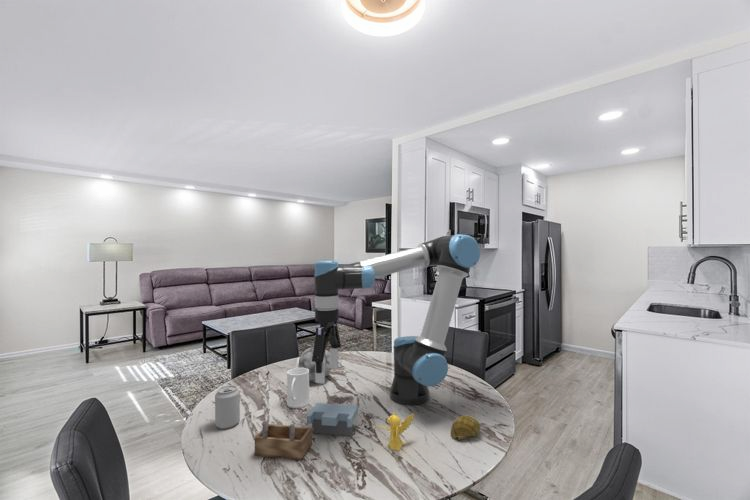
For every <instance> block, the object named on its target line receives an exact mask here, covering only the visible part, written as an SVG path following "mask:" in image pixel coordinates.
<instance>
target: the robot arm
mask: <svg viewBox="0 0 750 500" xmlns="http://www.w3.org/2000/svg"><path fill="white" fill-rule="evenodd" d="M480 258H481V248H480V245H479V244H478V242H477V240H476V239H475V238H474V237H473V236H470V235H468V234H461V233H458V234H453V235H444V236H439V237H436V238H434V239H431V240H428V241H426V242H425V241H424V242H421V243H419V244H418V245H417V246H416V247H412V248H408V249H403V250H401V251H396V252H392V253H388V254H383V255H380V256H376V257H371V258H369V259H364V260H360V261H357V262H351V263H348V264H347V263H345V264H341V265H339V262H338V261H337V260H317V261H316V262H315V264H314V274H313V275H314V298H313V301H314V307H315V311H314V320H315V322H316V323H319V324H320V325H319V327H316V328H315V338H314V343H313V347H314V350H313V356H312V362H315V382H314V383H315V384H325V383H326V380H325V379H326V377H325V361H323V359H324V355H325V350H327V345H328V342H329V345H330V348H329V353H330V368H331V369H338V368H339V349H341V348H342V345H341V338H340V333H339V327H338V321H339V319H340V316H339V315H340V312H339V311H340V310H339V309H338V308H339V306H340V304H339V303H340V302H339V290H356V289H357V290H358V289H361V290H362V289H363V290H364V289H370V288H372V287H374V285H375V281H376V279H378V278H380V277H385V276H388V275H392V274H395V273H399V272H403V271H407V270H411V269H414V268H415V269H416V268H419V267H424V268H428V267H432V266H436V268H437V270H438V274H437V279H436V282H435V286H434V289H433V292H432V297H431V299H430V303H429V306H428V309H427V312H426V317H425V319H424V320H425V321H424V322H423V323H424V324H423V326H422V330H421V333H420V335H417V336H416V335H410V336H407V335H406V336H400V337H399V336H398V337H396V338H394V340H393V373H394V374H393V375H394V376H393V379H392V382H391V385H390V389H389V397H390V399H391V400H392V401H393V402H395V403H398V404H400V405H407V406H408V405H409V406H410V405H411V406H412V405H420V404H421V405H422V404H423V403H426V402H427V401H428V400H429V399H430V391H429V387H434V386H437V385H438V384H440V383H442V382H443V381H444V380H445V378H446V376H447V375H448V372H449V364H448V362H447V359H446V354H447V351H448V349H447V347H446V345H445V343H446V338H447V335H448V331H449V328H450V324H451V322H452V317H453V314H454V309H455V307H456V303H457V300H458V297H459V293H460V290H461V286H462V282H463V279H464V278H466V277H468V276H469V274H470V269H471V268H473V267H474V266H475V265H477V264H478V262H479V260H480ZM318 357H319V358H318Z"/></svg>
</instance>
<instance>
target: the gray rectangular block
mask: <svg viewBox="0 0 750 500" xmlns="http://www.w3.org/2000/svg"><path fill="white" fill-rule="evenodd" d="M353 431H354V424H353V425H352V427H347V422H342V421H339V422H338V423H337V425H336V426H327V425H322V420H315V419H314V420H313V422H312V434H322V435H332V436H333V435H336V436H346V437H351V435H352V433H353Z"/></svg>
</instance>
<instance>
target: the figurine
mask: <svg viewBox="0 0 750 500" xmlns="http://www.w3.org/2000/svg"><path fill="white" fill-rule="evenodd" d="M414 415H415V413H410V415H408V416H407V417H406V418H405V419H403V420H402V421H401V418H400V417H399V416H398V415H397V413H396V412H394V413H393V414H392V415H390V416H389V417H388V418H387V421H386V423H388V424H389V426H390V428H389V427H385V426H380V425H376V424H374V426H376V427H378V428H381V429H384V430H387V431H389V432H390V433H389V441H388V447H389V449H390V450H393V451H400V450H401V449H402V447H403V446H404V442H403V440H402V438H401V436H400V434H401V435H402V434H403V433H404V432H405V431H408V428H410V426H411V425H412V422H414V418H415V416H414Z"/></svg>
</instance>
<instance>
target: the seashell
mask: <svg viewBox="0 0 750 500" xmlns="http://www.w3.org/2000/svg"><path fill="white" fill-rule="evenodd" d="M480 432H481V425H480V422H479V420H477V419H476V418H475V417H474V416H471V415H468V414H464V415H461V416H459V417H457V418H456V419H455V420H454V422H453V423H452V425H451V427H450V438H451V440H454V439H457V438H458V440H459V441H461V440H465V439H467V438H468V437H471V438H475V437H477V436H478V435H479V433H480Z"/></svg>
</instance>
